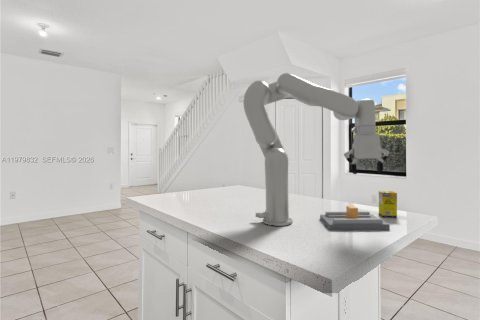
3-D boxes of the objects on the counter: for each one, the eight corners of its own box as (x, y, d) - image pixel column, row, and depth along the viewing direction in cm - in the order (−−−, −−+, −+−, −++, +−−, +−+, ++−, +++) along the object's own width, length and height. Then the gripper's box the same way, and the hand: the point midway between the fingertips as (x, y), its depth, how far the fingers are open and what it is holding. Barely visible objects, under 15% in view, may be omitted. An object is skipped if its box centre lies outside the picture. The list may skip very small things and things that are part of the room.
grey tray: (334, 223, 105) (334, 219, 105) (325, 215, 118) (325, 211, 118) (382, 223, 104) (382, 219, 104) (368, 215, 117) (368, 211, 117)
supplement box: (397, 217, 119) (397, 193, 119) (382, 217, 120) (382, 192, 120) (392, 214, 125) (392, 190, 125) (378, 214, 126) (378, 190, 126)
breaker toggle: (350, 220, 109) (350, 208, 109) (346, 217, 113) (346, 205, 113) (358, 220, 109) (358, 208, 108) (353, 217, 113) (353, 205, 113)
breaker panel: (329, 229, 104) (329, 223, 104) (320, 219, 120) (320, 213, 120) (389, 229, 102) (389, 222, 102) (371, 218, 118) (371, 212, 118)
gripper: (345, 131, 107) (347, 175, 107) (392, 128, 105) (393, 173, 105) (340, 132, 114) (342, 173, 115) (384, 130, 112) (385, 171, 113)
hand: (367, 173), depth 110 cm, fingers open, 9 cm apart
